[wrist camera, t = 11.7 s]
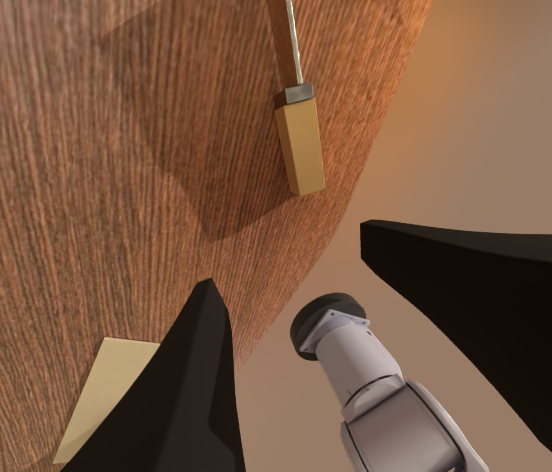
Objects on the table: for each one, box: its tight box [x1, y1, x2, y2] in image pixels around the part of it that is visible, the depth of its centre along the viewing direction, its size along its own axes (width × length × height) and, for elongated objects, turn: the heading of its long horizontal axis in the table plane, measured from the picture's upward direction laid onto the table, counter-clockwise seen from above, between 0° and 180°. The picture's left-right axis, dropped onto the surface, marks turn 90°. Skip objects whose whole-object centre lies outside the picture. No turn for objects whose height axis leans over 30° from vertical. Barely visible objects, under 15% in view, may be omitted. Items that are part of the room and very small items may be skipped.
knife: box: [268, 0, 325, 197], centre depth 13 cm, size 14×2×3 cm, turn 14°
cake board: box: [52, 337, 160, 464], centre depth 22 cm, size 10×19×1 cm, turn 149°
